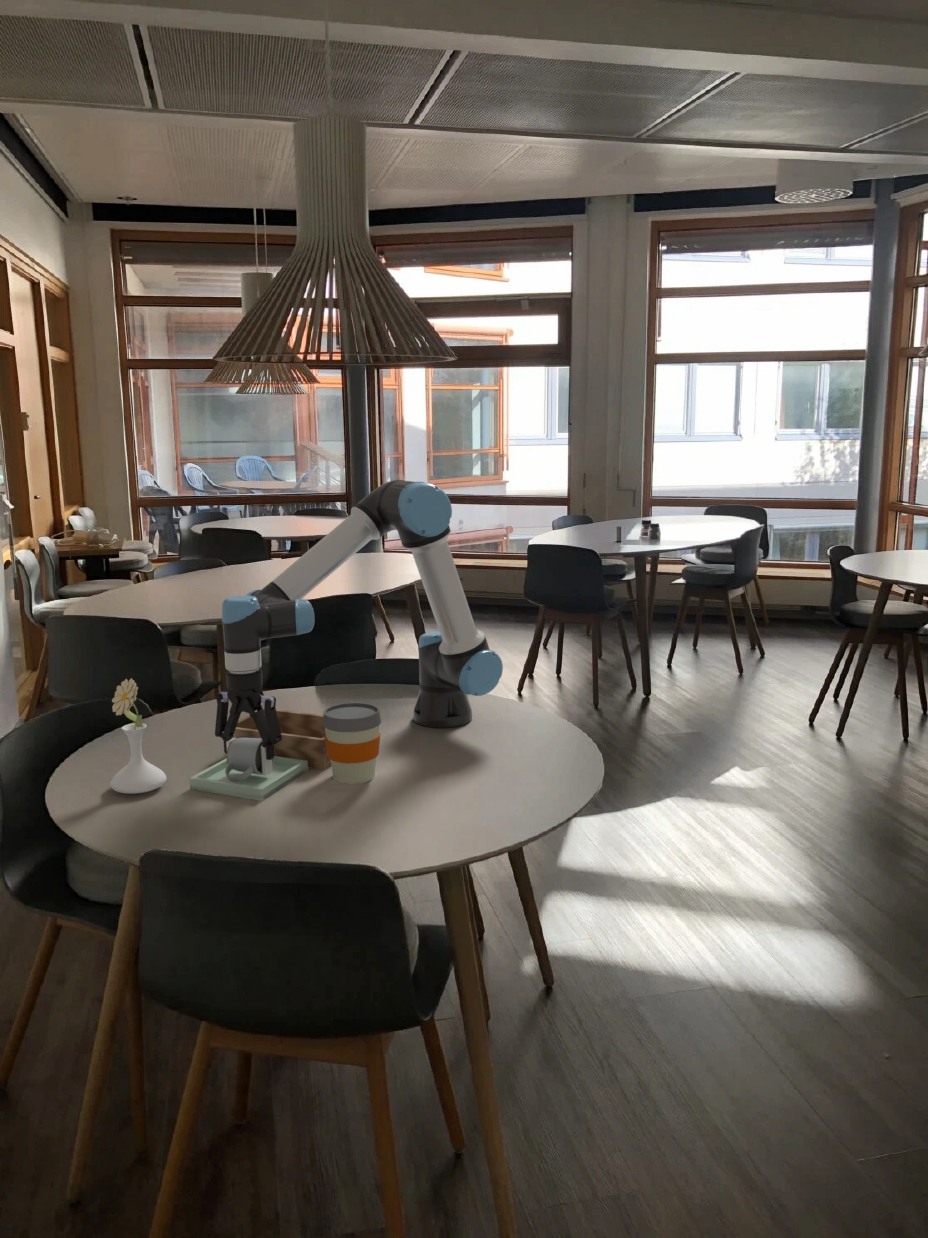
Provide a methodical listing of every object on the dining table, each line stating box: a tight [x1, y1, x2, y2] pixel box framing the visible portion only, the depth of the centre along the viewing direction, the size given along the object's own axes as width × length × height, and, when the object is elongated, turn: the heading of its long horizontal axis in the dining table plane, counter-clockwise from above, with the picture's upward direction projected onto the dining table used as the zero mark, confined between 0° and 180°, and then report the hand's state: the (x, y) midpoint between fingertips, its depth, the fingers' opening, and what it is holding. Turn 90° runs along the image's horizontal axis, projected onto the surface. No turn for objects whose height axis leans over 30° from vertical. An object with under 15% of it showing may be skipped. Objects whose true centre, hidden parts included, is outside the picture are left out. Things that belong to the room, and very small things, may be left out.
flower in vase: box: [110, 678, 168, 795], centre depth 205 cm, size 13×11×25 cm
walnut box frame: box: [232, 707, 332, 771], centre depth 229 cm, size 26×16×7 cm, turn 68°
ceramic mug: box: [225, 738, 274, 782], centre depth 210 cm, size 11×8×8 cm
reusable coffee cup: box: [322, 702, 382, 785], centre depth 213 cm, size 13×13×15 cm
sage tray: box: [189, 756, 309, 802], centre depth 212 cm, size 18×18×2 cm
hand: (250, 770), depth 212 cm, fingers closed on ceramic mug, 8 cm apart
